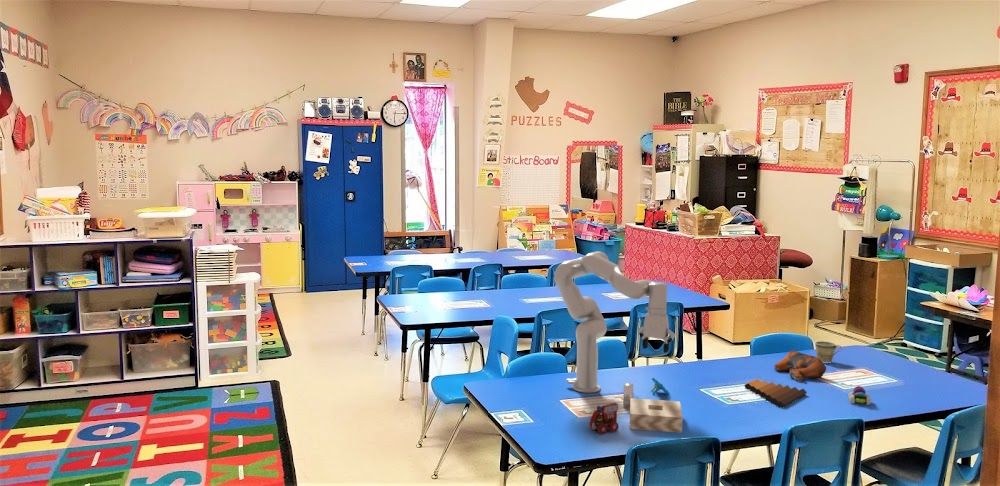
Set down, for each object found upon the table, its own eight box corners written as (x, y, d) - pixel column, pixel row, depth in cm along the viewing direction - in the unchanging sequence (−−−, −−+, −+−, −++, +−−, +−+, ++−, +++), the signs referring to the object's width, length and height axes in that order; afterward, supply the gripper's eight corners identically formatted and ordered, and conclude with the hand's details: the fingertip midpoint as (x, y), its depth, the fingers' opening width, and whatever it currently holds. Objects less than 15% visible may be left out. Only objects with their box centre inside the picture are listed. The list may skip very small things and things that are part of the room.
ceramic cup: (816, 364, 400) (817, 345, 399) (812, 359, 410) (813, 340, 409) (843, 365, 398) (844, 346, 397) (837, 360, 408) (839, 342, 407)
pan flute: (783, 409, 329) (806, 396, 347) (784, 401, 329) (806, 389, 347) (729, 396, 346) (753, 384, 364) (729, 389, 345) (754, 377, 364)
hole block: (629, 428, 301) (630, 413, 301) (630, 412, 321) (630, 398, 320) (681, 432, 298) (682, 417, 297) (679, 415, 317) (679, 401, 317)
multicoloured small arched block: (868, 400, 341) (869, 385, 340) (871, 407, 332) (872, 391, 331) (847, 398, 344) (848, 382, 343) (849, 405, 335) (850, 389, 334)
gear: (673, 394, 340) (657, 378, 340) (664, 403, 340) (648, 388, 340) (666, 390, 351) (650, 374, 351) (657, 399, 351) (641, 384, 351)
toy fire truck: (584, 430, 299) (585, 404, 298) (611, 425, 305) (612, 399, 304) (595, 436, 293) (595, 409, 292) (621, 431, 299) (622, 405, 298)
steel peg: (623, 408, 325) (623, 385, 324) (623, 405, 329) (624, 382, 328) (632, 409, 325) (633, 386, 324) (632, 406, 329) (633, 383, 327)
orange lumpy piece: (790, 362, 397) (762, 370, 391) (793, 340, 392) (765, 347, 386) (825, 387, 376) (797, 396, 370) (829, 364, 370) (800, 372, 365)
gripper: (634, 309, 332) (633, 348, 334) (672, 315, 321) (670, 355, 323) (643, 307, 337) (641, 345, 339) (679, 312, 327) (677, 352, 329)
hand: (655, 350), depth 331 cm, fingers open, 9 cm apart
